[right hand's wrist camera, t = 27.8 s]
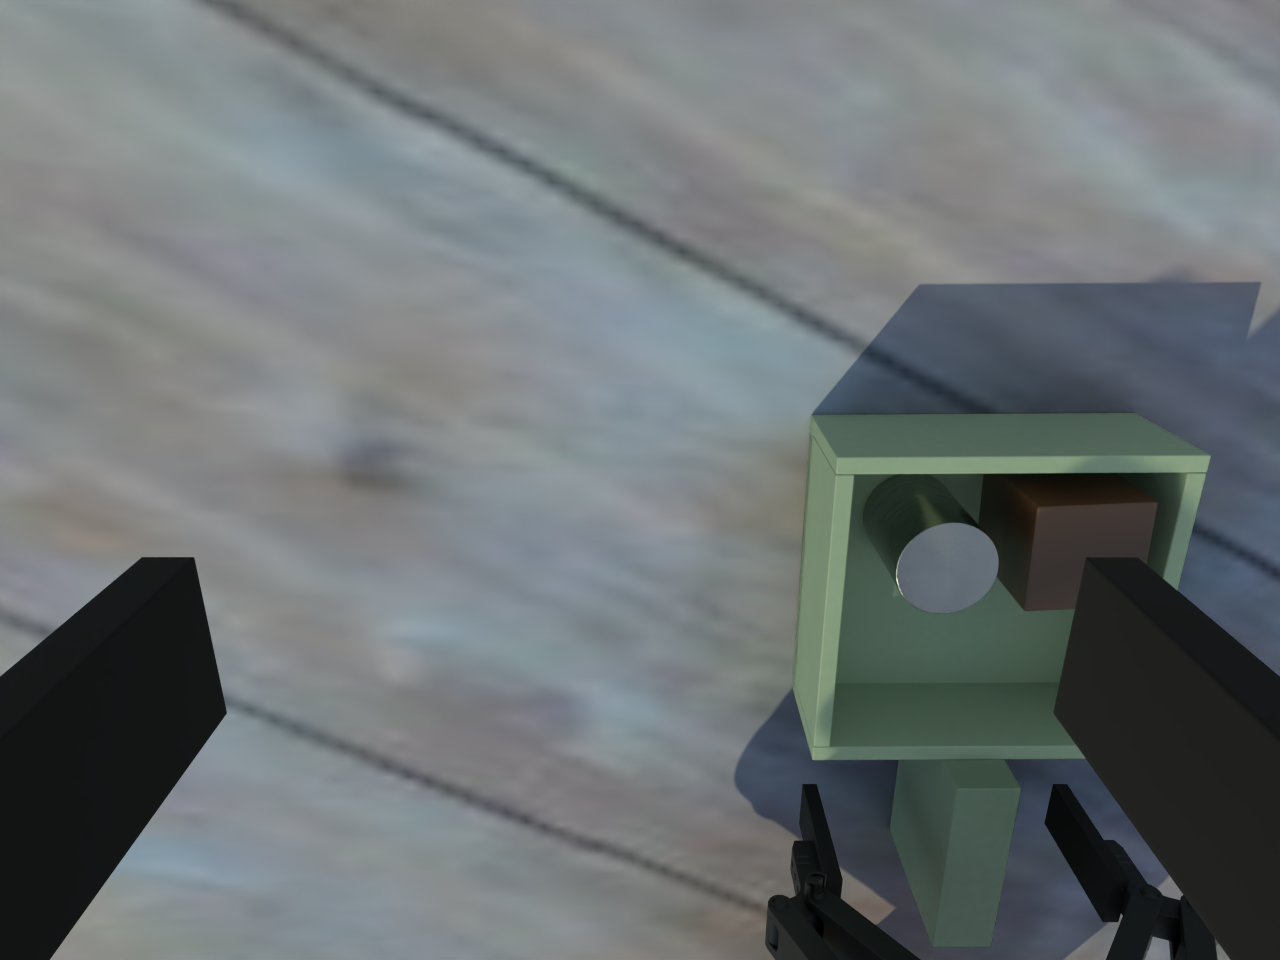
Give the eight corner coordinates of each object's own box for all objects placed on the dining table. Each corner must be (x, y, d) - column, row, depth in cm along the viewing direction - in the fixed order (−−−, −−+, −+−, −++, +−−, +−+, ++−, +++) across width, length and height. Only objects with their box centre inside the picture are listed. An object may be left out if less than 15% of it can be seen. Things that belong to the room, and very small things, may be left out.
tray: (811, 414, 42) (847, 474, 34) (1135, 412, 42) (1243, 472, 34) (782, 830, 51) (806, 948, 44) (1047, 829, 51) (1116, 947, 44)
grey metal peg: (866, 471, 42) (901, 523, 36) (957, 471, 42) (1006, 522, 36) (858, 553, 44) (890, 614, 38) (946, 553, 44) (991, 614, 38)
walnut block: (984, 457, 42) (1037, 507, 36) (1089, 453, 42) (1159, 502, 36) (974, 551, 44) (1024, 612, 38) (1074, 547, 43) (1139, 607, 38)
